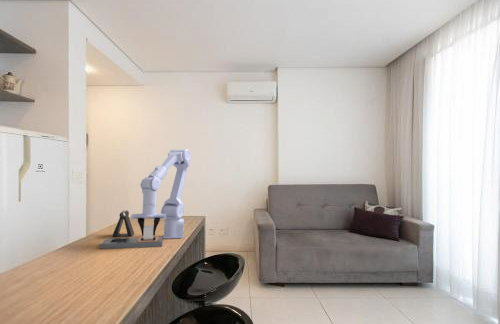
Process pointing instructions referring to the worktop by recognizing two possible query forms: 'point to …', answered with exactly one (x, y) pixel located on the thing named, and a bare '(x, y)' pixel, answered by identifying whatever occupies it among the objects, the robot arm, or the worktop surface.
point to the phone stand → (127, 224)
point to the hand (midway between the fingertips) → (148, 235)
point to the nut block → (148, 232)
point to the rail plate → (131, 242)
